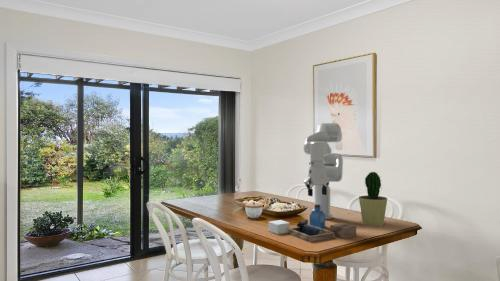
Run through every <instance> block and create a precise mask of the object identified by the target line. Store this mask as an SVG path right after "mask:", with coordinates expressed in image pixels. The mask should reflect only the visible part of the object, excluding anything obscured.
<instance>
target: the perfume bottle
mask: <svg viewBox="0 0 500 281" xmlns="http://www.w3.org/2000/svg"><path fill="white" fill-rule="evenodd" d="M313 209H315V210H314V211H312V210H311V213H310V214H309V225H312V226H315V227H319V228H322V229H324V228H325V227H326V219H325V214H324V213H323V211H320V209H321V207H320V205H319V204H315V203H314V206H313Z"/></svg>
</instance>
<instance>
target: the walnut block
mask: <svg viewBox="0 0 500 281" xmlns="http://www.w3.org/2000/svg"><path fill="white" fill-rule="evenodd" d="M329 229H330V230H329V231H331V232H334V233H335V238H339V239H343V240H347V239H350V238H354V237H356V236H357V225H355V224H350V223H345V222H338V223H334V224H330V225H329Z"/></svg>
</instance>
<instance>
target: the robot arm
mask: <svg viewBox="0 0 500 281" xmlns="http://www.w3.org/2000/svg"><path fill="white" fill-rule="evenodd" d="M342 139H343V133H342V128H341V126H340V124H338V123H337V122H334V123H333V122H328V123H327V122H324V123H319V125H317V127H316V129H315V133H313V134H310V135H309V136H307V137H306V138H305V141H304V144H303V152H304V153H305V154H306V155H309V156H310V158H309V159H310V162H309V163H308V164H309V165H310V166H309V169H308V176H307V177H308V178H306V179H305V180H304V181H303V183H304V185H305V187H306V188H307V196H308V197H313V190H314V205H315V204H319V205H320V207H321V209H320V211H323V213H324V214H325V220H330V219H333V218H334V215H333V214H331V188H330V186H329V185H330V182H334V183H335V182H336V183H338V182H340V181H342V179H343V169H344V168H343V165H344V164H343V163H344V160H343V155H342V154H340V153H334V152H332V148H331V147H330V144H329V143H340V142H341V141H342ZM313 187H314V189H313ZM314 210H315V209H314V208H313V209H311V212H312V211H314Z"/></svg>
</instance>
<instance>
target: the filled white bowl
mask: <svg viewBox="0 0 500 281" xmlns="http://www.w3.org/2000/svg"><path fill="white" fill-rule="evenodd" d="M244 206H245V208H244V209H245V213H246V215H247V217H248V218H250V219H258V218H259V217H260V216H261V215H262V213H263V204H262V203H259V202H255V201H253V202H249V203H245V205H244Z"/></svg>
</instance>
